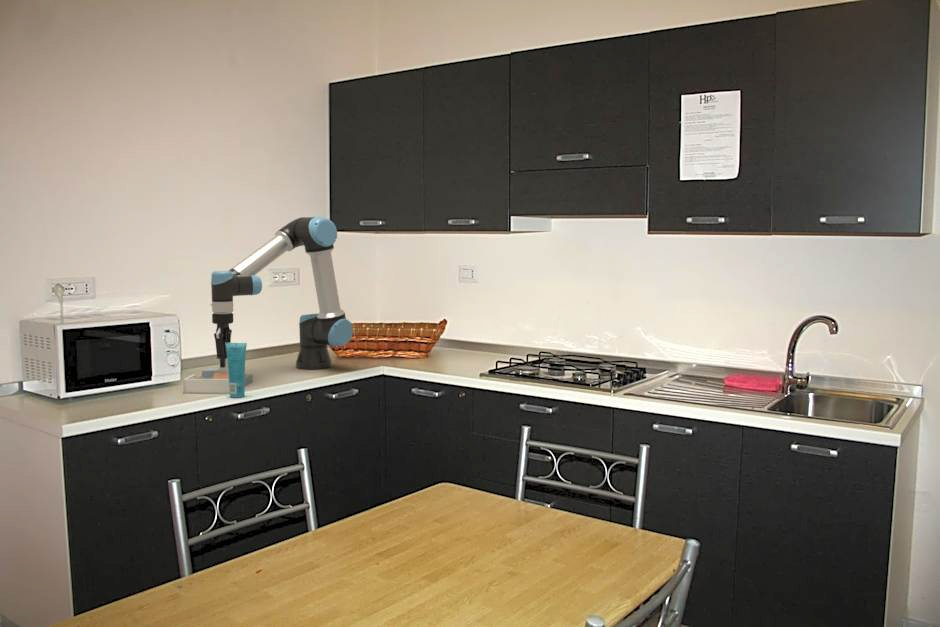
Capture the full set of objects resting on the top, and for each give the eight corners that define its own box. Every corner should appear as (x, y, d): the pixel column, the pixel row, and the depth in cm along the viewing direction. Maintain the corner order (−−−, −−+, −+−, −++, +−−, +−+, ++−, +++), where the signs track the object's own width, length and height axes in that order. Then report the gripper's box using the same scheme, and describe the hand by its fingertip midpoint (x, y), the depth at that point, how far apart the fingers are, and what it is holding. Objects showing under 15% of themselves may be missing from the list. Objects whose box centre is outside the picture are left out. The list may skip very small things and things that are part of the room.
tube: (249, 395, 289) (247, 341, 287) (246, 397, 284) (245, 343, 282) (227, 395, 288) (226, 341, 286) (224, 398, 284) (223, 343, 282)
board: (252, 381, 315) (252, 374, 315) (242, 388, 302) (242, 380, 302) (206, 381, 315) (206, 373, 315) (194, 387, 302) (194, 379, 302)
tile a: (232, 377, 303) (230, 372, 301) (227, 388, 298) (226, 383, 296) (216, 377, 303) (214, 372, 301) (211, 388, 298) (210, 383, 296)
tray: (242, 388, 302) (241, 374, 301) (233, 393, 291) (232, 379, 291) (194, 387, 302) (193, 374, 302) (183, 393, 292) (183, 379, 291)
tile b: (222, 374, 313) (222, 368, 313) (217, 377, 307) (217, 370, 307) (207, 374, 314) (207, 367, 313) (201, 377, 308) (201, 370, 307)
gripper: (218, 310, 307) (219, 372, 310) (206, 314, 294) (207, 378, 297) (238, 311, 307) (239, 372, 309) (226, 314, 294) (228, 378, 296)
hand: (223, 375), depth 303 cm, fingers closed
